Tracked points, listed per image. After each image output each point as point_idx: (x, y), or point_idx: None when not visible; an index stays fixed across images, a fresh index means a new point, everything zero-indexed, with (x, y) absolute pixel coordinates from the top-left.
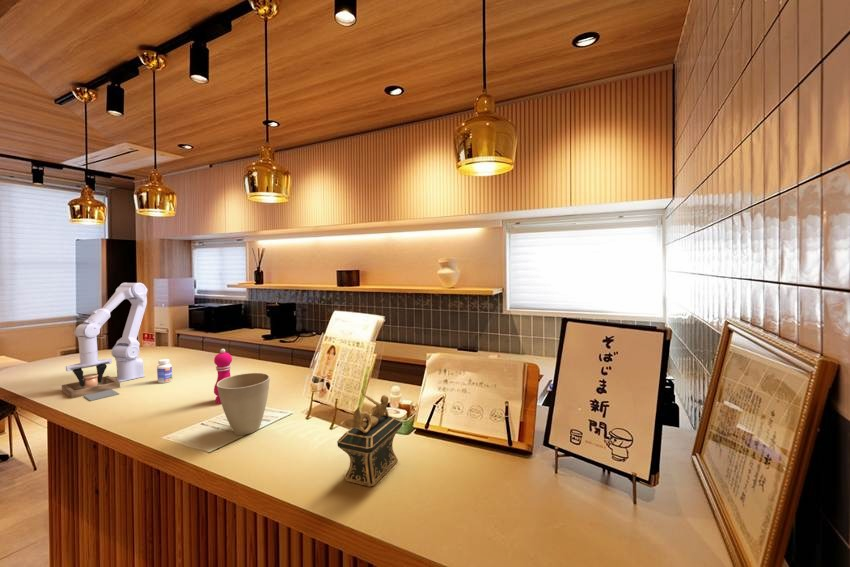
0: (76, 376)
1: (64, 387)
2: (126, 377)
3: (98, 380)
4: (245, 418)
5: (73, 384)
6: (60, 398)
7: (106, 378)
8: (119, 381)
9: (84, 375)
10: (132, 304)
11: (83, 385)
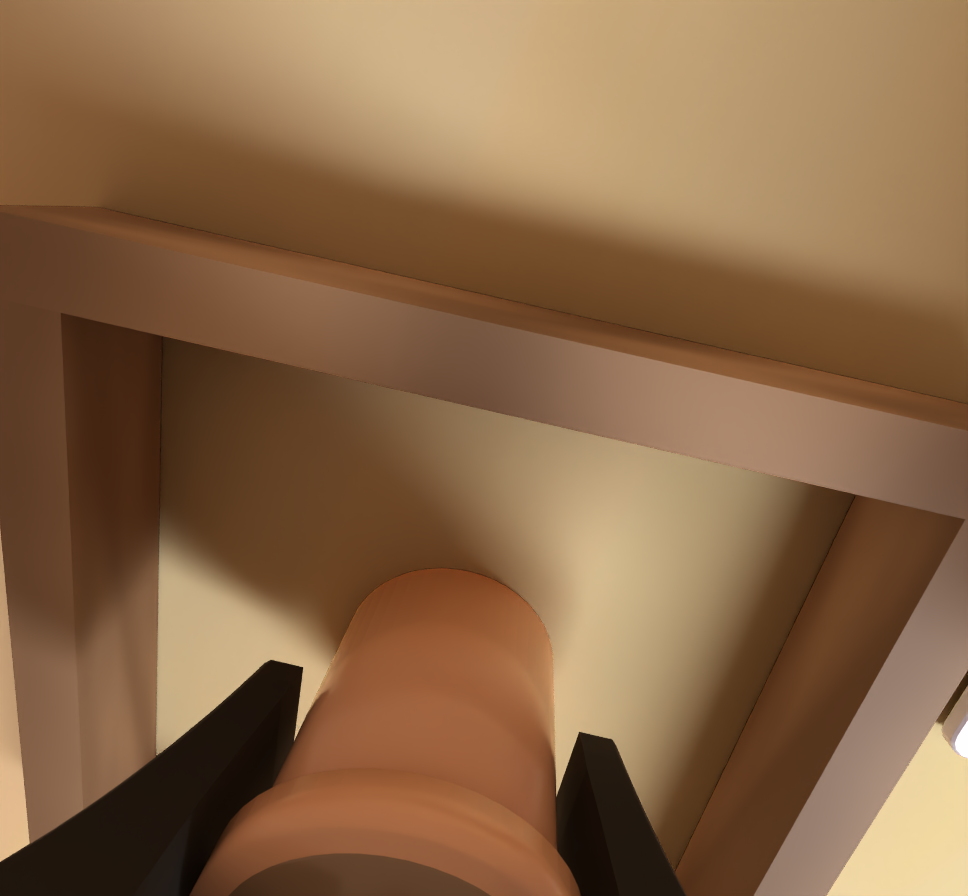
0: (46, 836)
1: (3, 507)
2: None
3: (563, 825)
4: None
5: (231, 340)
6: (4, 679)
7: (904, 576)
8: (946, 730)
9: (282, 845)
10: None
11: (279, 765)
